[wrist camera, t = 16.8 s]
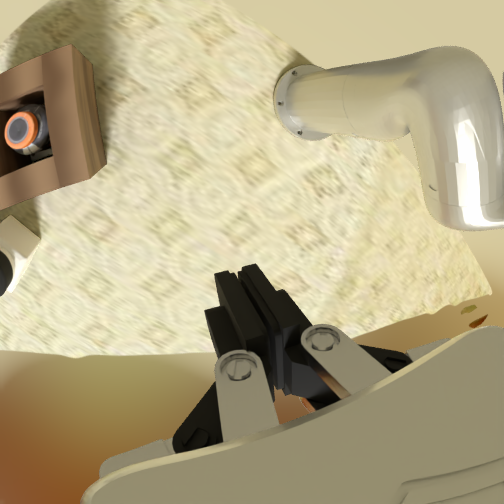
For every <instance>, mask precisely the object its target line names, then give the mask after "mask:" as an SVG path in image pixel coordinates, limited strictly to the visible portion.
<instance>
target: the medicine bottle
mask: <svg viewBox="0 0 504 504" xmlns="http://www.w3.org/2000/svg"><path fill="white" fill-rule="evenodd" d="M40 242H41V239H40V238H39V237H38V236H36V235H35V234H34V233H33V232H31V231H30V230H29V229H28V228H26V227H25V226H24V225H23V224H21V223H20V222H19V221H18V220H17V219H15V218H14V217H13V216H12V215H9V216H8V217H6V218H5V219H4V220H3V221H1V222H0V296H2V295H3V294H4V293H5V291H6V290H7V291H9V292H10V293H12V292H13V290H14V289H15V287H16V285H17V284H18V282H19V281H20V279H21V278H22V276H23V275H24V273H25V272H26V270H27V268H28V266H29V263H30V261H31V259H32V257H33V256H34V254H35V252H36V250H37V248H38V246H39V244H40Z"/></svg>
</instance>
